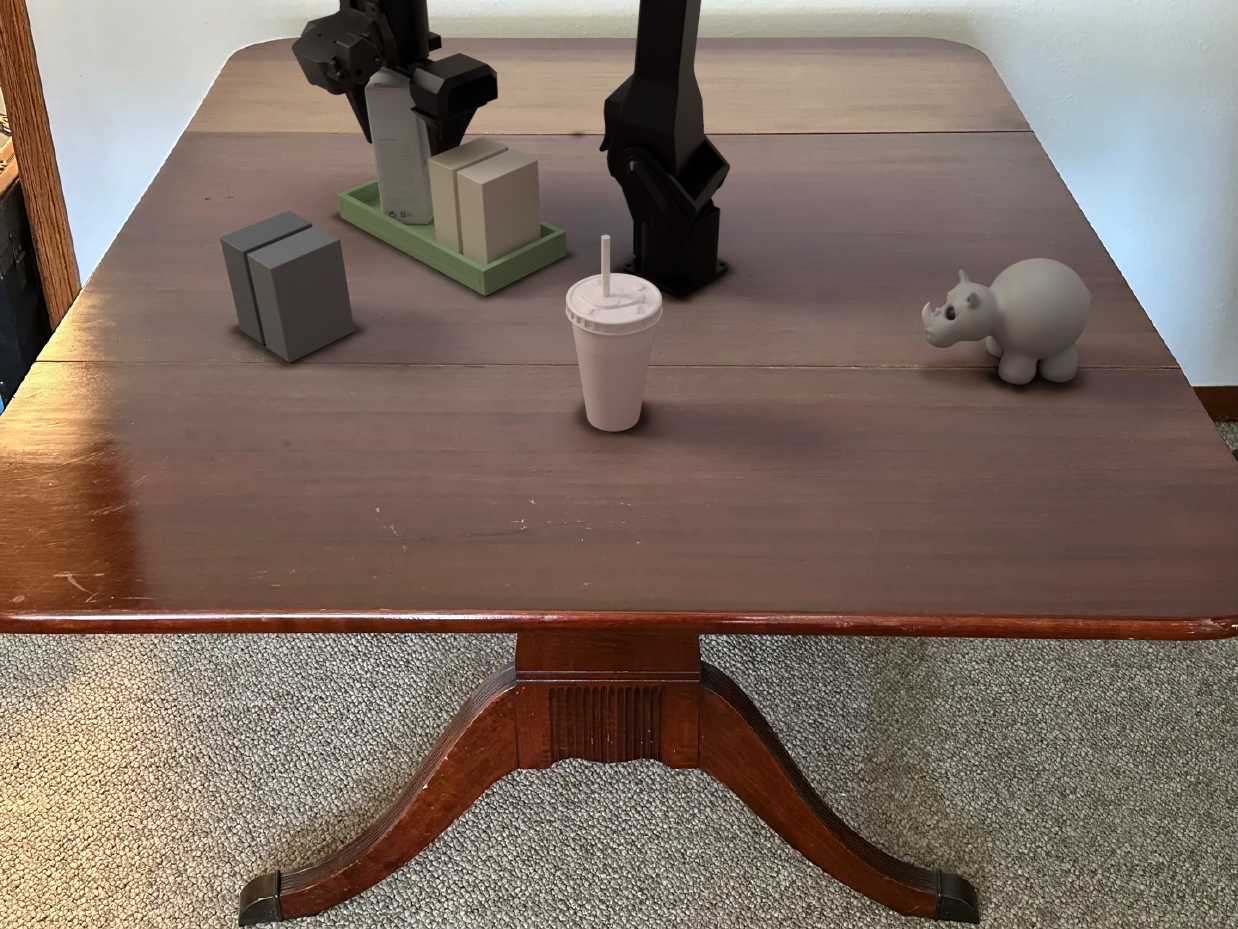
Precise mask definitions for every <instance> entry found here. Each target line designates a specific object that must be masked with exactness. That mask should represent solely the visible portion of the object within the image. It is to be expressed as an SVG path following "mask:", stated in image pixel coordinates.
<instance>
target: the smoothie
mask: <svg viewBox="0 0 1238 929" xmlns="http://www.w3.org/2000/svg"><path fill="white" fill-rule="evenodd" d="M600 240H601V241H600V242H601V244H600V247H601V250H600V254H601V255H600V258H601V261H600V262H601V267H600V270H601V271H600V274H595V275H591V276H588V277H585V278H583V279H580V280H579V281H577V282H575V283H574V284H573V285H572V286H571V287H570V288H569V289H568V291H567V292H566V296H565V314H566V316H567V318H568V320H569V321H570V322H571V324H572V326H571V327H572V333H573V338H574V344H575V349H576V351H575V352H576V357H577V362H578V370H579V376H580V382H581V386H582V387H581V388H582V393H583V394H582V395H583V400H584V401H583V402H584V407H585V412H586V413H585V414H586V418H587V421H588V422H589V424H590V425H591V426H593V427H594V428H595V429H598V430H601V431H604V432H622V431H626V430H629V429H631V428H632V427H634V426H635V425H636V424H637V423H638V422H639V420H640V416H641V409H642V405H643V398H644V393H645V388H646V387H645V386H646V381H647V375H648V370H649V364H650V359H651V352H652V348H653V342H654V337H655V330H656V324H657V322H658V321H660V319H661V318H662V315H663V314H664V313H663V312H664V311H663V296H662V293H661V291H660V289H658V288H657V287H656V286H654V285H653V284H652V283H650V282H649V281H647V280H645V279H643V278H640V277H637V276H633V275H629V274H627V273H618V272H614V273H613V272H611V236H610V235H609V234H603V235H601V236H600Z"/></svg>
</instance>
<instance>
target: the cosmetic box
mask: <svg viewBox="0 0 1238 929" xmlns="http://www.w3.org/2000/svg"><path fill="white" fill-rule="evenodd" d="M409 81H410V78H408V77H406V76H403V75H401V74H399V73H396V72H394V71H392V70H385V69H383V68H381V69H380V70H379V71H378V72H377V73H375V74H374V75H373V76H372V77H371V78H370V81H369V82H368V84H367V86H366V87H365V96H366V104H367V110H368V117H369V124H370V131H371V137H372V144H371V145H372V150H373V151H372V152H373V158H374V165H375V172H376V178H377V179H378V186H379V194H380V201H381V207H382V213H384V214H385V215H387V216H389V217H391V218H393V219H395V220H397V221H399V222H401V223H403V224H429V223H430V222H431V220H432V218H433V216H434V214H433V204H432V193H431V183H430V173H429V163H428V158H430V157H431V153H430V147H429V142H428V136H427V130H426V124H425V122H424V120H422V119H421V118H420V117H418V116H417V115H416V114H415V113H413V112H412V111H411V109H410V108H412V107H415V106H416V104H415V102H414V101H413V99H412V97H411V96H410V88H409Z"/></svg>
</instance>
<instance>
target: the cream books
mask: <svg viewBox="0 0 1238 929" xmlns="http://www.w3.org/2000/svg"><path fill="white" fill-rule="evenodd" d="M428 163H429V173H430V183H431V193H432V204H433V214H434V224H435V234H436V241H437V242H439V243H440V244H442V245H444V246H446V247H448V248H450V249H452V250H454V251H456V252H458V253H459V254H461V255H463V256H465V257H467V258H469V259H471V260H473V261H475V262H477V263H478V264H480V265H482V266H486V265H488V264H490V263H492V262H494V261H496V260H498V259H500V258H502V257H504V256H506V255H508V254H510V253H513V252H515V251H517V250H519V249H521V248H523V247H525V246H527V245H529V244H531V243H533V242H535V241H537V240H539V239H541V230H540V219H541V206H540V180H539V178H540V177H539V159H537V158H535V157H533V156H530V155H528V154H526V153H523V152H521V151H519V150H517V149H514V148H511V149H509V146H508V145H506V144H504V143H501V142H499V141H497V140H494V139H491V138H490V137H487V136H485V135H483V136H480V137H478V138H475V139H472V140H470V141H467V142H466V143H463V144H460V146H458V147H455V148H453V149H450V150H448V151H445V152H443V153H440V154H438V155H435V156H433V157H430V158H428Z"/></svg>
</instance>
